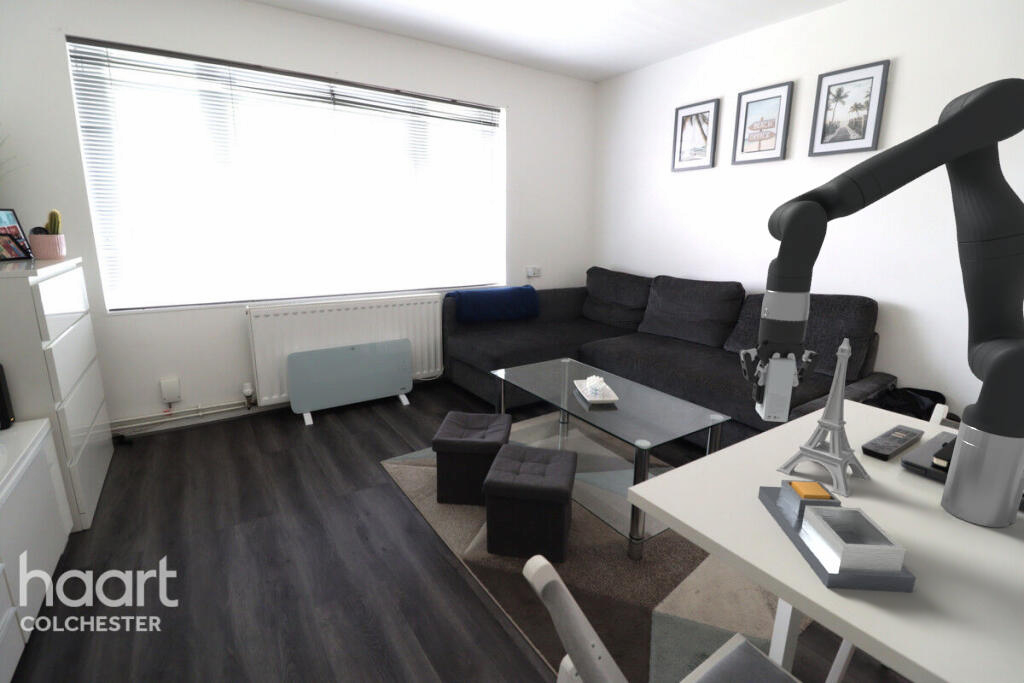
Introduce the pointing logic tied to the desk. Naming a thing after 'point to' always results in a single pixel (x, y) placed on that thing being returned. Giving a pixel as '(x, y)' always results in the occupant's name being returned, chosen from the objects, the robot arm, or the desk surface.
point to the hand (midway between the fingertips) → (772, 402)
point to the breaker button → (810, 490)
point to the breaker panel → (838, 541)
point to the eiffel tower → (832, 435)
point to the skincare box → (777, 390)
